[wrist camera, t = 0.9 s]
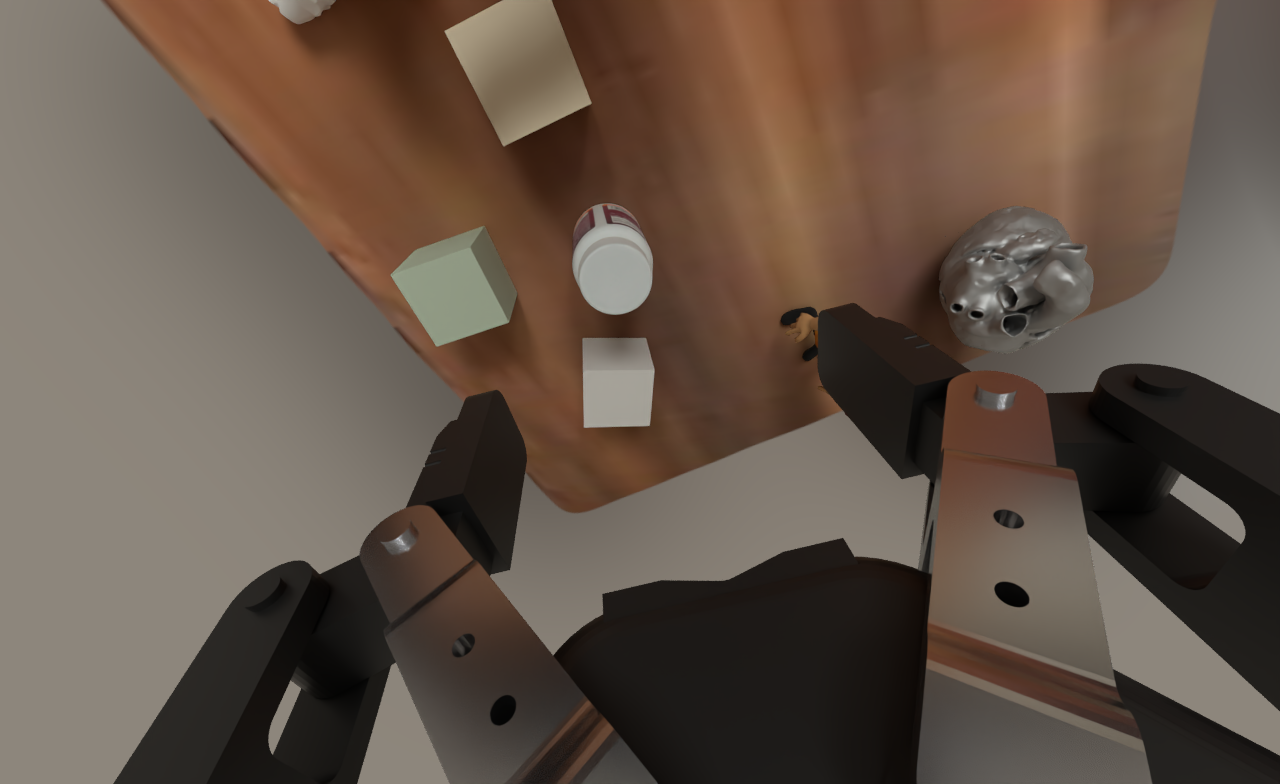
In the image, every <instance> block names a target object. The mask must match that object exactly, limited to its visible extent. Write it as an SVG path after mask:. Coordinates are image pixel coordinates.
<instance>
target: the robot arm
mask: <svg viewBox="0 0 1280 784" xmlns="http://www.w3.org/2000/svg"><path fill="white" fill-rule="evenodd" d="M818 373H819V377H820V380H821V383H822V385H823V387H824V389H825V390H826V391H827V392H828V394H829V395H830V396H831V397H832V398H833V399H834V401H835V402H836V403H837V404H838V405H839V406H840V408H841V409H842V410H843V411H844V412H845V413H846V415H847V416H848V417H849V418H850V419H851V421H852V422H853V423H854V424H855V425H856V426H857V427H858V429H859V430H860V431H861V432H862V433H863V434H864V436H865V437H866V438H867V439H868V440H869V442H870V443H871V444H872V445H873V446H874V447H875V449H876V450H877V451H878V452H879V453H880V454H881V456H882V457H883V458H884V459H885V460H886V462H887V463H888V464H889V465H890V466H891V467H892V469H893V470H894V471H895V472H896V473H897V474H898V476H899V477H900V478H901V479H904V478H908V477H913V476H917V475H921V474H925V475H926V476H927V477H928V478H929V479H930V482H929V487H928V492H927V500H926V509H925V517H924V525H923V533H922V541H921V550H920V558H919V565H918V569H915V568H913V567H910V566H906V565H903V564H900V563H897V562H892V561H888V560H883V559H877V558H868V557H854V555H853V554H852V552H851V550H850V549H849V547H848V545H847V544H846V542H845V540H844V539H843V538H841V539H837V540H833V541H828V542H824V543H820V544H815V545H811V546H807V547H802V548H798V549H794V550H790V551H785V552H782V553H780V554H778V555H777V556H775V557H773V558H771V559H769V560H767V561H765V562H763V563H761V564H759V565H757V566H755V567H753V568H751V569H749V570H747V571H745V572H743V573H741V574H740V575H737V576H736V577H734V578H731V579H729V580H725V581H664V580H661V581H657V582H652V583H648V584H644V585H639V586H635V587H631V588H626V589H623V590H618V591H614V592H609V593H605V594H603V615H601V616H600V617H598V618H595V619H594V620H593V621H591V622H589V623H588V624H586V625H585V626H583V627H582V628H581V629H580V630H579V631H577V632H576V633H575V634H573V635H572V636H571V637H570V638H569V639H568V640H567V641H566V642H565V643H564V644H563V645H562V646H561V647H560V648H559V649H558V650H557V652H556V653H555V654H554V655H552V654H551V652H550V651H549V650H548V649H547V647H546V646H545V645H544V644H543V642H542V641H541V640H540V639H539V637H538V636H537V635H536V634H535V632H534V631H533V630H532V629H531V627H530V626H529V625H528V624H527V622H526V621H525V620H524V619H523V617H522V616H521V615H520V614H519V612H518V611H517V610H516V609H515V607H514V606H513V605H512V604H511V602H510V601H509V600H508V599H507V597H506V596H505V595H504V594H503V592H502V591H501V590H500V589H499V587H498V586H497V585H496V584H495V582H494V581H493V580H492V579H491V577H490V575H491V574H495V573H499V572H503V571H507V570H510V567H511V560H512V553H513V546H514V540H515V534H516V527H517V521H518V514H519V507H520V501H521V495H522V488H523V482H524V475H525V469H526V462H527V454H526V448H525V444H524V440H523V438H522V435H521V433H520V431H519V429H518V427H517V425H516V423H515V420H514V418H513V416H512V414H511V412H510V410H509V408H508V405H507V403H506V401H505V399H504V397H503V395H502V394H501V392H500V391H498V390H494V391H490V392H486V393H482V394H478V395H473V396H469V397H467V398H466V399H465V401H464V404H463V407H462V409H461V412H460V414H459V417H458V419H457V420H454V421H451V422H450V423H449V424H448V425H447V426H446V427H445V428H444V429H443V430H442V432H440V434H439V435H438V436H437V437H436V440H435V442H434V444H433V447H432V449H431V451H430V452H431V454H430V455H429V456H428V458H427V460H426V463H425V467H424V468H423V469H422V472H421V474H420V476H419V479H418V481H417V483H416V486H415V488H414V490H413V492H412V495H411V497H410V500H409V502H408V504H407V506H406V508H404V509H402V510H400V511H397V512H395V513H394V514H392V515H390V516H389V517H387V518H386V519H384V520H383V521H382V522H380V523H379V524H378V525H377V526H376V527H375V528H374V529H373V530H372V531H371V532H370V533H369V535H368V536H367V537H366V539H365V541H364V542H363V544H362V546H361V549H360V555H359V556H357V557H355V558H353V559H351V560H349V561H347V562H344V563H342V564H340V565H338V566H336V567H334V568H332V569H330V570H328V571H326V572H324V573H322V574H319V573H318V572H317V571H316V570H314V569H313V568H312V567H311V566H310V565H309V564H308V563H307V562H305V561H291V562H287V563H285V564H281V565H279V566H277V567H275V568H273V569H271V570H269V571H267V572H266V573H264V574H262V575H261V576H259V577H258V578H257V579H255V580H254V581H253V582H251V583H250V584H249V585H248V586H247V587H246V588H244V590H242V591H241V592H240V593H239V594H238V595H237V597H236V598H235V599H234V600H233V601H232V603H231V604H230V605H229V607H228V608H227V610H226V611H225V613H224V614H223V616H222V617H221V619H220V620H219V622H218V624H217V625H216V627H215V628H214V630H213V631H212V633H211V634H210V636H209V637H208V639H207V640H206V642H205V644H204V645H203V647H202V648H201V650H200V651H199V653H198V654H197V656H196V658H195V659H194V660H193V662H192V664H191V665H190V667H189V668H188V670H187V671H186V673H185V674H184V676H183V678H182V679H181V681H180V682H179V684H178V685H177V687H176V688H175V690H174V691H173V693H172V695H171V696H170V697H169V699H168V700H167V702H166V704H165V705H164V707H163V708H162V710H161V711H160V713H159V714H158V716H157V717H156V719H155V720H154V722H153V724H152V725H151V727H150V728H149V730H148V731H147V733H146V734H145V736H144V737H143V739H142V740H141V742H140V744H139V745H138V747H137V748H136V750H135V752H134V753H133V754H132V756H131V757H130V759H129V761H128V762H127V764H126V765H125V767H124V768H123V770H122V772H121V773H120V774H119V776H118V777H117V779H116V781H115V782H114V784H357V782H358V779H359V775H360V772H361V768H362V765H363V762H364V758H365V755H366V751H367V747H368V744H369V740H370V737H371V734H372V730H373V727H374V723H375V719H376V716H377V713H378V709H379V706H380V702H381V698H382V695H383V692H384V688H385V684H386V681H387V678H388V674H389V671H390V667H391V665H392V664H394V663H396V664H397V666H398V668H399V670H400V673H401V675H402V677H403V679H404V682H405V684H406V686H407V688H408V691H409V693H410V695H411V697H412V700H413V702H414V704H415V706H416V709H417V711H418V713H419V715H420V718H421V720H422V722H423V724H424V727H425V729H426V731H427V734H428V736H429V738H430V740H431V742H432V744H433V747H434V749H435V751H436V754H437V756H438V758H439V760H440V763H441V765H442V767H443V769H444V772H445V774H446V776H447V778H448V780H449V783H450V784H1280V756H1279V755H1277V754H1276V753H1274V752H1272V751H1270V750H1268V749H1266V748H1264V747H1262V746H1260V745H1258V744H1256V743H1254V742H1252V741H1251V740H1249V739H1247V738H1245V737H1243V736H1241V735H1239V734H1237V733H1235V732H1233V731H1231V730H1229V729H1227V728H1226V727H1223V726H1222V725H1220V724H1218V723H1216V722H1214V721H1212V720H1210V719H1208V718H1206V717H1204V716H1202V715H1200V714H1199V713H1197V712H1195V711H1193V710H1191V709H1189V708H1187V707H1185V706H1183V705H1181V704H1179V703H1177V702H1175V701H1174V700H1172V699H1170V698H1168V697H1166V696H1164V695H1162V694H1160V693H1158V692H1156V691H1154V690H1152V689H1150V688H1148V687H1147V686H1145V685H1143V684H1141V683H1139V682H1137V681H1135V680H1133V679H1131V678H1129V677H1127V676H1125V675H1123V674H1122V673H1120V672H1118V671H1116V670H1114V669H1113V667H1112V663H1111V657H1110V652H1109V646H1108V641H1107V635H1106V630H1105V625H1104V619H1103V614H1102V609H1101V603H1100V598H1099V593H1098V587H1097V582H1096V577H1095V571H1094V566H1093V560H1092V555H1091V550H1090V545H1089V539H1088V534H1089V535H1090V536H1091V537H1092V538H1093V539H1094V540H1095V541H1096V542H1097V543H1098V544H1099V545H1100V546H1102V547H1103V548H1104V549H1105V550H1106V551H1107V552H1108V553H1109V554H1110V555H1111V556H1112V557H1113V558H1115V560H1117V561H1118V562H1119V563H1120V564H1121V565H1122V566H1123V567H1124V568H1125V569H1126V570H1127V571H1128V572H1130V573H1131V574H1132V575H1133V576H1134V577H1135V578H1136V579H1137V580H1138V581H1139V582H1141V584H1143V585H1144V586H1145V587H1146V588H1147V589H1148V590H1149V591H1150V592H1151V593H1152V594H1153V595H1155V596H1156V597H1157V598H1158V599H1159V600H1160V601H1161V602H1162V603H1163V604H1164V605H1166V607H1167V608H1169V609H1170V610H1171V611H1172V612H1173V613H1174V614H1175V615H1176V616H1177V617H1178V618H1179V619H1180V620H1182V621H1183V622H1184V623H1185V624H1186V625H1187V626H1188V627H1189V628H1190V629H1191V630H1192V631H1193V632H1195V633H1196V634H1197V635H1198V636H1199V637H1200V638H1201V639H1202V640H1203V641H1204V642H1205V643H1206V644H1208V645H1209V646H1210V647H1211V648H1212V649H1213V650H1214V651H1215V652H1216V653H1217V654H1218V655H1219V656H1221V657H1222V658H1223V659H1224V660H1225V661H1226V662H1227V663H1228V664H1229V665H1230V666H1231V667H1232V668H1233V669H1235V670H1236V671H1237V672H1238V673H1239V674H1240V675H1241V676H1242V677H1243V678H1244V679H1245V680H1246V681H1248V682H1249V683H1250V684H1251V685H1252V686H1253V687H1254V688H1255V689H1256V690H1257V691H1258V692H1260V693H1261V694H1262V695H1263V696H1264V697H1265V698H1266V699H1267V700H1268V701H1269V702H1270V703H1271V704H1273V705H1274V706H1275V707H1276V708H1277V709H1278V710H1279V711H1280V414H1279V413H1277V412H1275V411H1273V410H1271V409H1269V408H1267V407H1265V406H1262V405H1260V404H1258V403H1256V402H1254V401H1252V400H1250V399H1248V398H1246V397H1244V396H1241V395H1239V394H1237V393H1235V392H1233V391H1231V390H1229V389H1227V388H1225V387H1223V386H1221V385H1218V384H1216V383H1214V382H1212V381H1210V380H1208V379H1206V378H1204V377H1201V376H1199V375H1197V374H1194V373H1191V372H1188V371H1184V370H1181V369H1177V368H1172V367H1168V366H1161V365H1153V364H1124V365H1118V366H1114V367H1111V368H1108V369H1106V370H1104V371H1103V372H1102V373H1101V375H1100V376H1099V378H1098V381H1097V383H1096V386H1095V388H1094V390H1093V392H1074V393H1044V391H1043V390H1042V389H1041V388H1040V387H1039V386H1038V385H1036V384H1035V383H1033V382H1031V381H1029V380H1028V379H1025V378H1023V377H1020V376H1017V375H1014V374H1010V373H1004V372H998V371H974V372H971V371H970V370H968V369H967V368H965V367H964V366H962V365H961V364H959V363H958V362H957V361H955V360H954V359H952V358H951V357H949V356H948V355H946V354H945V353H943V352H942V351H941V350H939V349H938V348H936V347H935V346H933V345H929V342H927V341H926V340H924V339H923V338H922V337H920V336H919V337H917V334H916V333H914V332H913V331H911V330H910V329H908V328H907V327H906V326H904V325H903V324H901V323H897V322H894V321H891V320H888V319H885V318H882V317H878V318H875V317H873V316H872V315H871V314H869V313H868V312H867V311H865V310H864V309H862V308H861V307H860V306H858V305H857V304H855V303H850V304H846V305H842V306H838V307H834V308H830V309H826V310H822V311H821V312H820V313H819V316H818ZM1181 473H1182V474H1183V475H1185V476H1186V477H1188V478H1189V479H1191V480H1192V481H1194V482H1195V483H1197V484H1198V485H1200V486H1201V487H1203V488H1204V489H1206V490H1207V491H1209V492H1210V493H1212V494H1213V495H1215V496H1216V497H1218V498H1219V499H1221V500H1222V501H1224V502H1225V503H1226V504H1228V505H1229V506H1230V507H1231V508H1233V509H1234V510H1235V511H1236V513H1237V514H1238V515H1239V516H1240V518H1241V520H1242V521H1243V524H1244V526H1245V530H1246V535H1245V539H1244V541H1243V542H1242V544H1240V543H1239V542H1237V541H1236V540H1234V539H1233V538H1232V537H1230V536H1229V535H1227V534H1226V533H1225V532H1223V531H1222V530H1220V529H1219V528H1217V527H1216V526H1215V525H1213V524H1212V523H1211V522H1209V521H1208V520H1206V519H1205V518H1204V517H1202V516H1201V515H1199V514H1198V513H1197V512H1195V511H1194V510H1192V509H1191V508H1190V507H1188V506H1187V505H1185V504H1184V503H1183V502H1181V501H1180V500H1178V499H1177V498H1176V497H1174V496H1173V495H1171V494H1170V493H1169V492H1170V491H1171V489H1172V487H1173V486H1174V484H1175V483H1176V481H1177V479H1178V477H1179V476H1180V474H1181ZM290 680H291V681H292V682H294V683H295V684H296V685H298V686H299V687H300V688H301V691H300V693H299V696H298V698H297V700H296V702H295V705H294V707H293V710H292V712H291V714H290V716H289V719H288V721H287V723H286V726H285V728H284V730H283V733H282V735H281V737H280V740H279V742H278V744H277V747H276V749H275V751H274V754H273V755H272V754H271V751H270V748H269V743H268V735H269V729H270V725H271V722H272V720H273V717H274V715H275V713H276V711H277V709H278V706H279V704H280V702H281V700H282V698H283V695H284V693H285V691H286V689H287V687H288V684H289V682H290Z"/></svg>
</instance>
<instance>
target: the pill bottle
mask: <svg viewBox="0 0 1280 784" xmlns="http://www.w3.org/2000/svg"><path fill="white" fill-rule="evenodd" d="M572 267H573V273H574V277H575V279H576V282H577V284H578V286H579V287H580V290H581V292H582V295H583V297H584V298H585V299H586V301H587V302H588V303H589V304H590V305H591V306H592V307H593V308H595V309H596V310H598V311H600V312H603V313H606V314H612V315H619V314H624V313H628V312H630V311H632V310H634V309H636V308H637V307H639V306H640V305H641V304H642V303H643V302H644V301H645V299H646V298H647V296H648V294H649V292H650V290H651V286H652V271H653V257H652V252H651V249H650V247H649V245H648V243H647V241H646V239H645V237H644V234H643V232H642V230H641V228H640V226H639V224H638V222H637V220H636V219H635V217H634V216H633V215H632V214H631V213H630V212H629V211H628V210H627V209H625V208H623V207H622V206H619V205H616V204H611V203H604V204H598V205H595V206H593V207H591V208H589V209H588V210H586V211H585V212H584V213H583V214H582V215H581V216H580V218H579V219H578V221H577V223H576V225H575V228H574V233H573V257H572Z"/></svg>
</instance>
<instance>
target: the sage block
mask: <svg viewBox="0 0 1280 784" xmlns="http://www.w3.org/2000/svg"><path fill="white" fill-rule="evenodd" d="M391 277H392V278H393V280H394V282H395V283H396V285H397V286H398V288H399V289H400V291H401V292H402V294H403V295H404V297H405V299H406V300H407V302H408V303H409V305H410V306H411V308H412V309H413V311H414V312H415V314H416V316H417V317H418V319H419V320H420V322H421V323H422V325H423V326H424V328H425V329H426V331H427V333H428V334H429V336H430V337H431V339H432V340H433V342H434V343H435V345H436V346H440V345H443V344H446V343H449V342H452V341H455V340H458V339H461V338H464V337H467V336H470V335H473V334H476V333H479V332H482V331H485V330H488V329H491V328H494V327H497V326H500V325H503V324H506V323H509V321H510V318H511V314H512V311H513V308H514V304H515V301H516V297H517V294H518V293H517V291H516V289H515V287H514V285H513V283H512V281H511V279H510V277H509V275H508V273H507V271H506V268H505V266H504V264H503V262H502V260H501V258H500V256H499V254H498V252H497V250H496V248H495V246H494V244H493V242H492V240H491V238H490V236H489V234H488V232H487V229H486V227H485V226H482V227H479V228H476V229H473V230H471V231H468V232H465V233H462V234H459V235H456V236H453V237H451V238H448V239H445V240H442V241H439V242H436V243H433V244H431V245H428V246H425V247H422V248H419V249H416V250H415V251H414V252H413V253H412V254H411V255H410V256H409V257H408V258H407V259H406V260H405V261H404V262H403V263H402V264H401V265H400V266H399V267H398V268H397V269H396V270H395V271H394V272H393V273H392V274H391Z"/></svg>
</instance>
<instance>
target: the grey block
mask: <svg viewBox="0 0 1280 784" xmlns="http://www.w3.org/2000/svg"><path fill="white" fill-rule="evenodd" d="M653 382H654V366H653V362H652V359H651V355H650V351H649V347H648V344H647V340H646V338H583V399H584V428H587V427H627V426H650V417H651V405H652V394H653Z"/></svg>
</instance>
